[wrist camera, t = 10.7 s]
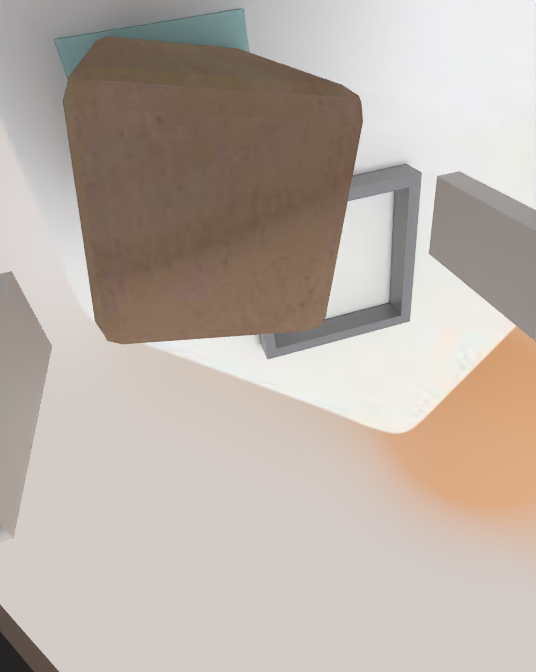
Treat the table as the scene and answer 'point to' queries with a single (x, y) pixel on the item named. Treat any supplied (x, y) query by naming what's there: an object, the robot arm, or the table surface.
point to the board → (165, 35)
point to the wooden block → (207, 188)
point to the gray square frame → (402, 267)
